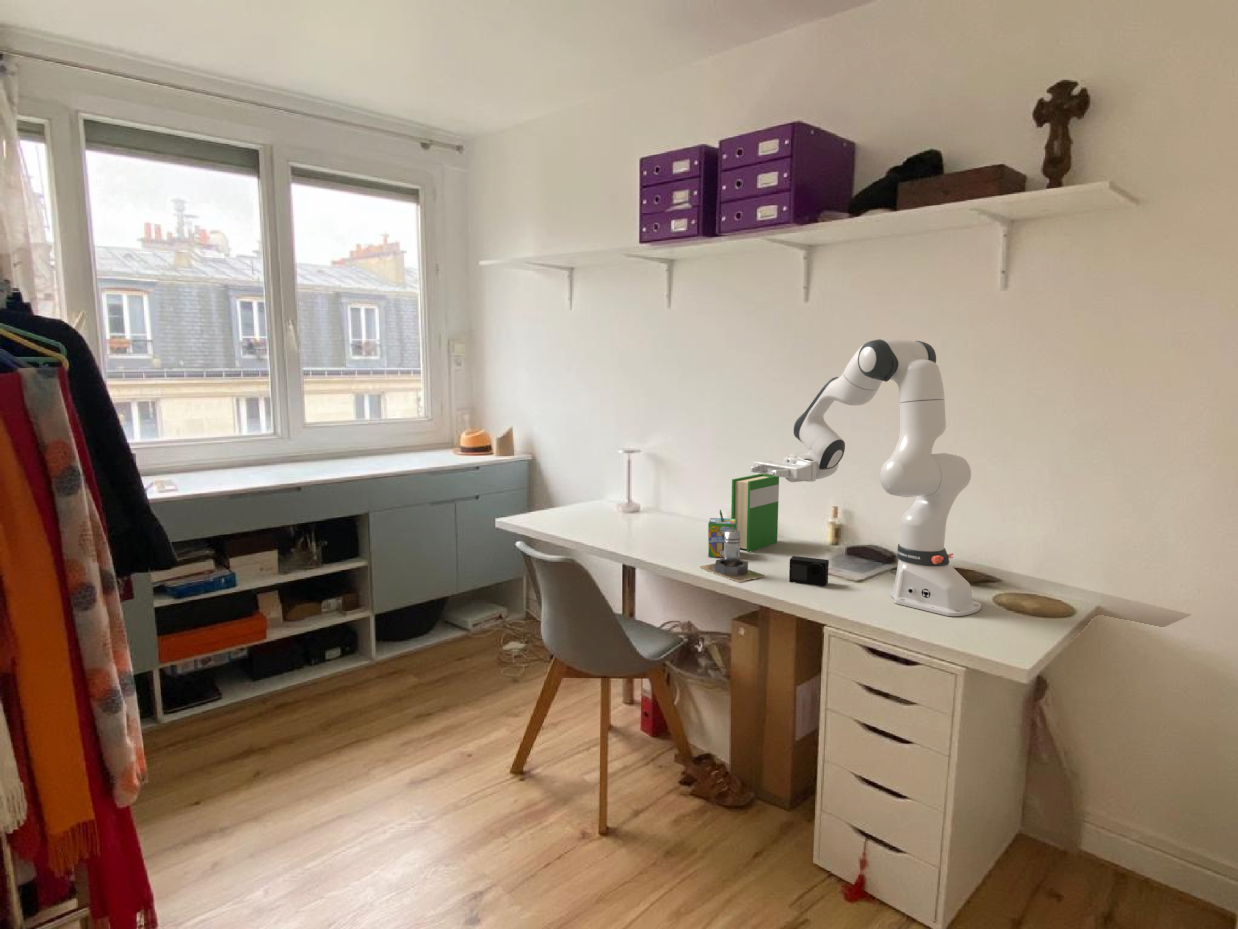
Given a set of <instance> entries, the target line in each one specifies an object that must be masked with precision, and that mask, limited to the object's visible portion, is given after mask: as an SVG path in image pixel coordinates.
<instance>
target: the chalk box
mask: <svg viewBox="0 0 1238 929" xmlns="http://www.w3.org/2000/svg"><path fill="white" fill-rule="evenodd" d="M719 515H720V516H719V518H718V517H716V518H715V517H710V519H709V521H708V526H707V531H708V535H707V536H708V553H707V557H708V558H724V531H727V530H736V531H737V519H731V518H727V517H724V516H723V512H722V510H721V509H719Z"/></svg>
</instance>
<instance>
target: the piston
mask: <svg viewBox="0 0 1238 929" xmlns="http://www.w3.org/2000/svg"><path fill="white" fill-rule="evenodd" d="M740 538H741V537H740V531H736V530H727V531H724V557H723V559H724V565H728V566H738V565H740V559H741V548H740Z"/></svg>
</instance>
